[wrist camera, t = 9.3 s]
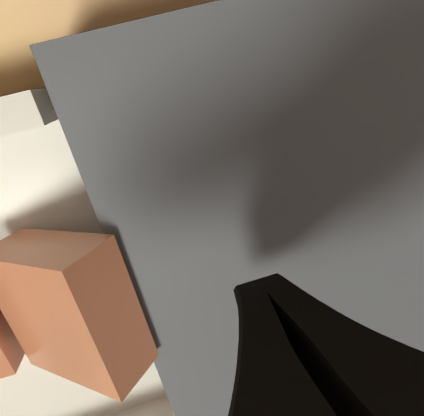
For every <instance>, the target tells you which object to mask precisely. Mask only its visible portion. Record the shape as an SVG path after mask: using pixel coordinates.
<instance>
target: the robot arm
mask: <svg viewBox="0 0 424 416" xmlns="http://www.w3.org/2000/svg"><path fill="white" fill-rule="evenodd" d="M233 291H234V295H235V299H236V303H237V307H238V316H239V340H238V353H237V365H236V373H235V381H234V387H233V393H232V399H231V404H230V409H229V413H228V416H424V352H423V351H420V350H418V349H415V348H413V347H410V346H408V345H406V344H403V343H401V342H399V341H396V340H394V339H392V338H389V337H387V336H385V335H382V334H380V333H378V332H376V331H374V330H372V329H370V328H368V327H366V326H364V325H362V324H360V323H358V322H356V321H354V320H352V319H350V318H349V317H347V316H345V315H343V314H341V313H340V312H338V311H336V310H334V309H333V308H331V307H329V306H328V305H326V304H324V303H323V302H321V301H319V300H318V299H316V298H315V297H313V296H311V295H310V294H308V293H307V292H305V291H304V290H302V289H301V288H299V287H298V286H296V285H295V284H293V283H292V282H290V281H289V280H287V279H286V278H285V277H283V276H282V275H280V274H278V273H276V274H273V275H269V276H266V277H263V278H259V279H256V280H253V281H250V282H246V283H243V284H240V285H237V286H236V287H235V288H234V290H233Z"/></svg>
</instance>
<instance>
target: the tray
mask: <svg viewBox="0 0 424 416" xmlns="http://www.w3.org/2000/svg"><path fill="white" fill-rule="evenodd" d="M22 228H27V229H41V230H56V231H70V232H84V233H99V234H103V231H102V229H101V226H100V224H99V221H98V219H97V216H96V214H95V211H94V208H93V206H92V203H91V201H90V198H89V196H88V193H87V191H86V188H85V186H84V183H83V180H82V178H81V175H80V173H79V170H78V168H77V165H76V163H75V160H74V158H73V155H72V152H71V150H70V147H69V145H68V142H67V140H66V137H65V135H64V132H63V130H62V127H61V124H60V122H59V119H58V117H57V114H56V112H55V109H54V107H53V104H52V102H51V99H50V96H49V94H48V91H47V89H46V88H42V89H31V90H26V91H22V92H18V93H14V94H10V95H6V96H2V97H0V240H2V239H3V238H5V237H7V236H9V235H11V234H13V233H15V232H17V231H18V230H20V229H22ZM0 416H175V415H174V412H173V410H172V407H171V405H170V402H169V399H168V397H167V394H166V392H165V389H164V387H163V384H162V382H161V379H160V377H159V374H158V371H157V369H156V366H155V364H154V362H153V363H152V365H151V366H150V367H149V369H148V370H147V371H146V372H145V374H144V375H143V376H142V377H141V379H140V380H139V381H138V382H137V384H136V385H135V386H134V388H133V389H132V390H131V391H130V393H129V394H128V395H127V396H126V398H125V399H124V400H123V402H120V401H117V400H115V399H112V398H110V397H108V396H105V395H103V394H101V393H98V392H96V391H94V390H91V389H89V388H86V387H84V386H82V385H79V384H77V383H75V382H72V381H70V380H68V379H65V378H63V377H61V376H58V375H56V374H53V373H51V372H49V371H46V370H44V369H42V368H39V367H37V366H35V365H32V364H31V363H30V361H29V359H28V357H27V356H26V354H24V357H23V359H22V361H21V364H20V366H19V368H18V370H17V373H16V374H14V375H11V376H8V377H5V378H1V379H0Z"/></svg>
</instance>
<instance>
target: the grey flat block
mask: <svg viewBox="0 0 424 416" xmlns="http://www.w3.org/2000/svg"><path fill="white" fill-rule="evenodd" d="M30 48H31V51H32V53H33V56H34V58H35V61H36V63H37V66H38V68H39V71H40V73H41V76H42V79H43V81H44V84H45V86H46V89H47V91H48V94H49V96H50V99H51V102H52V104H53V107H54V109H55V112H56V114H57V117H58V119H59V122H60V124H61V127H62V130H63V132H64V135H65V137H66V140H67V142H68V145H69V147H70V150H71V152H72V155H73V158H74V160H75V163H76V165H77V168H78V170H79V173H80V175H81V178H82V180H83V183H84V186H85V188H86V191H87V193H88V196H89V198H90V201H91V203H92V206H93V208H94V211H95V214H96V216H97V219H98V221H99V224H100V226H101V229H102V231H103V234H113V235H114V236H115V239H116V242H117V244H118V247H119V250H120V252H121V255H122V258H123V260H124V263H125V266H126V268H127V271H128V274H129V276H130V279H131V282H132V284H133V287H134V290H135V292H136V295H137V298H138V300H139V303H140V306H141V308H142V311H143V314H144V316H145V319H146V322H147V324H148V327H149V330H150V332H151V335H152V338H153V340H154V343H155V345H156V348H157V351H158V353H159V356H158V357H157V358H156V360H155V361H154V364H155V366H156V369H157V371H158V374H159V377H160V379H161V382H162V384H163V387H164V389H165V392H166V394H167V397H168V399H169V402H170V405H171V407H172V410H173V412H174V415H175V416H228V413H229V409H230V404H231V399H232V393H233V387H234V381H235V373H236V365H237V353H238V340H239V316H238V307H237V303H236V299H235V295H234V291H233V290H234V288H235V287H236V286H237V285H240V284H243V283H246V282H250V281H253V280H256V279H259V278H263V277H266V276H269V275H273V274H276V273H278V274H280V275H282V276H283V277H285V278H286V279H287V280H289V281H290V282H292V283H293V284H295V285H296V286H298V287H299V288H301V289H302V290H304V291H305V292H307V293H308V294H310V295H311V296H313V297H315V298H316V299H318V300H319V301H321V302H323V303H324V304H326V305H328V306H329V307H331V308H333V309H334V310H336V311H338V312H340V313H341V314H343V315H345V316H347V317H349V318H350V319H352V320H354V321H356V322H358V323H360V324H362V325H364V326H366V327H368V328H370V329H372V330H374V331H376V332H378V333H380V334H382V335H385V336H387V337H389V338H392V339H394V340H396V341H399V342H401V343H403V344H406V345H408V346H410V347H413V348H415V349H418V350H420V351H423V352H424V0H217V1H213V2H209V3H204V4H200V5H196V6H192V7H188V8H183V9H179V10H175V11H171V12H167V13H162V14H158V15H154V16H150V17H146V18H141V19H137V20H133V21H129V22H125V23H120V24H116V25H112V26H108V27H104V28H99V29H95V30H91V31H87V32H83V33H78V34H74V35H70V36H66V37H62V38H57V39H53V40H49V41H45V42H41V43H36V44H32V45H30Z"/></svg>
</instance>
